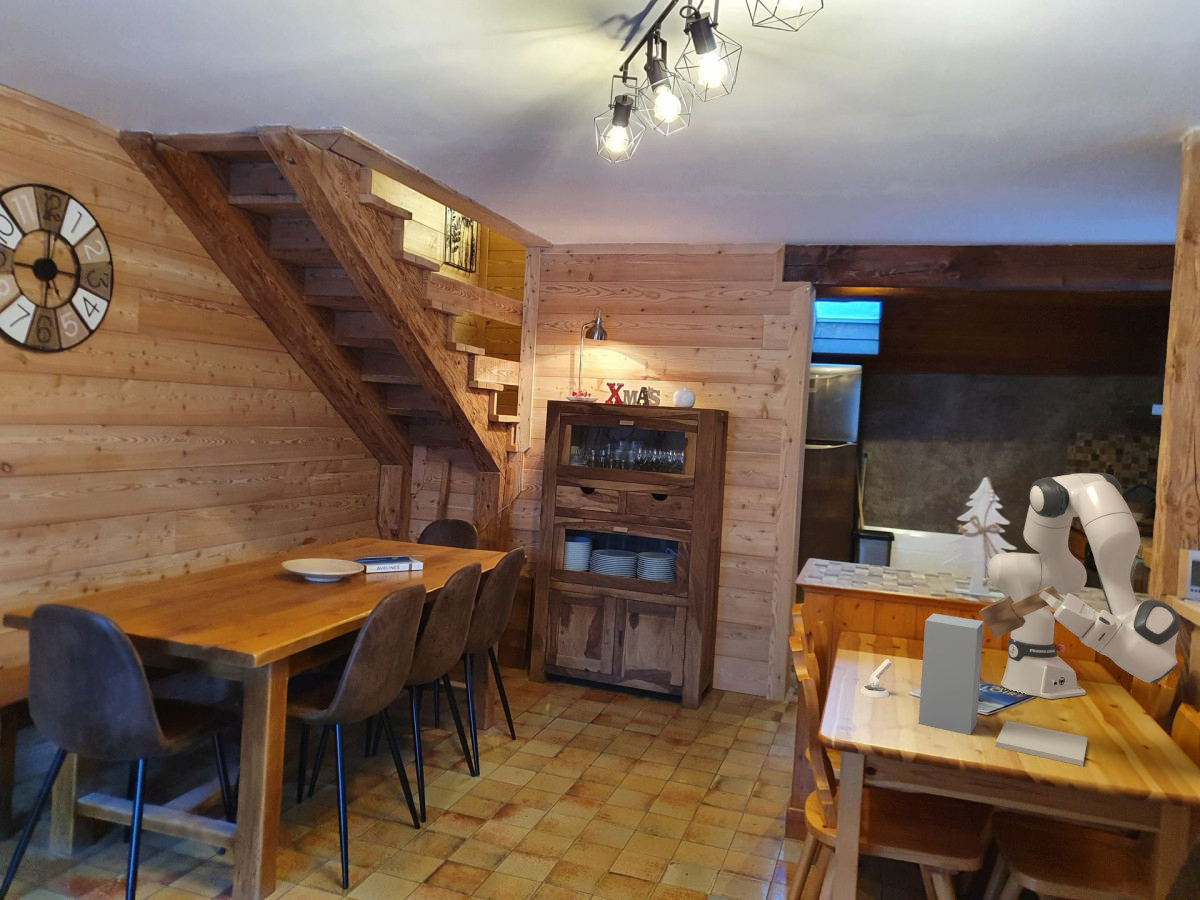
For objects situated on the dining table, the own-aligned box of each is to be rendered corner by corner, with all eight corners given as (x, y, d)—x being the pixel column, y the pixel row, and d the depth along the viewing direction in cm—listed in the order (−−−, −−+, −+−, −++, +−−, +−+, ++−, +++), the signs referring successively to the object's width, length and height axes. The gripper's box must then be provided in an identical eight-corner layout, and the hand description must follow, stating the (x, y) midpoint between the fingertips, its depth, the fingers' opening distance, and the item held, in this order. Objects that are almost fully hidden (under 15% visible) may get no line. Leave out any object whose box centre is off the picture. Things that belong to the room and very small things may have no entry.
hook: (912, 681, 237) (894, 667, 235) (882, 713, 239) (864, 699, 237) (900, 667, 244) (883, 653, 242) (871, 698, 246) (854, 685, 244)
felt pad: (1087, 742, 211) (1087, 737, 211) (1082, 766, 196) (1083, 760, 196) (1005, 725, 220) (1005, 720, 220) (995, 746, 205) (995, 741, 205)
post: (976, 723, 221) (983, 621, 219) (970, 734, 212) (977, 628, 211) (926, 712, 227) (933, 613, 226) (918, 723, 218) (925, 620, 217)
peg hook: (1065, 603, 208) (1048, 577, 210) (1063, 608, 202) (1045, 580, 204) (999, 633, 216) (983, 607, 218) (994, 638, 210) (978, 612, 212)
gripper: (1108, 610, 210) (1054, 575, 216) (1105, 625, 192) (1046, 586, 198) (1092, 631, 211) (1038, 595, 218) (1086, 648, 194) (1029, 608, 200)
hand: (1042, 591), depth 208 cm, fingers closed on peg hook, 3 cm apart
